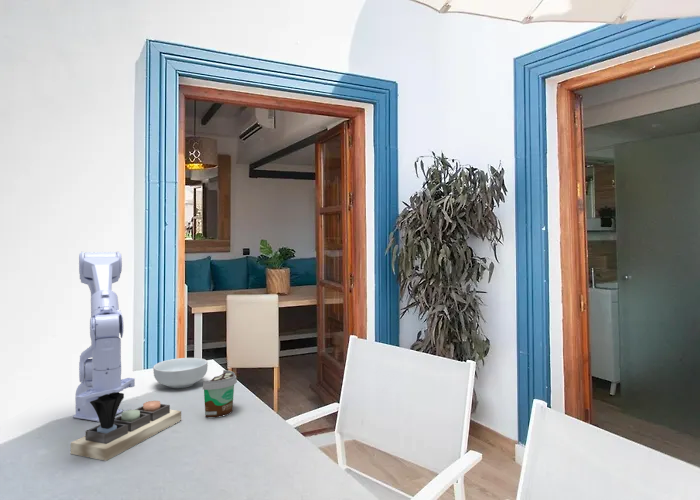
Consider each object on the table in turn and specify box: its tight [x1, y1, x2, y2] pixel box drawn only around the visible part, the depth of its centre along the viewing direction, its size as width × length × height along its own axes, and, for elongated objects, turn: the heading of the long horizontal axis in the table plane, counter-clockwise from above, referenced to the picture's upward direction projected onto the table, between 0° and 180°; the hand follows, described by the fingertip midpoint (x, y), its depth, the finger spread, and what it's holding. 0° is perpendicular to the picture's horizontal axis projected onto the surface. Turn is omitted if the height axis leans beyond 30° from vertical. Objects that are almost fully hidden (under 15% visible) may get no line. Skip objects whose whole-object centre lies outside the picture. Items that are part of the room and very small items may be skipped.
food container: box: [202, 369, 238, 418], centre depth 128 cm, size 12×6×10 cm, turn 168°
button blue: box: [97, 424, 117, 433], centre depth 105 cm, size 4×4×2 cm
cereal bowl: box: [153, 357, 209, 389], centre depth 153 cm, size 17×17×7 cm
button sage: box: [121, 409, 140, 422], centre depth 112 cm, size 4×4×2 cm
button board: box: [70, 403, 182, 462], centre depth 112 cm, size 10×24×4 cm, turn 161°
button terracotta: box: [142, 400, 161, 412], centre depth 119 cm, size 4×4×2 cm
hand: (106, 427), depth 105 cm, fingers closed
